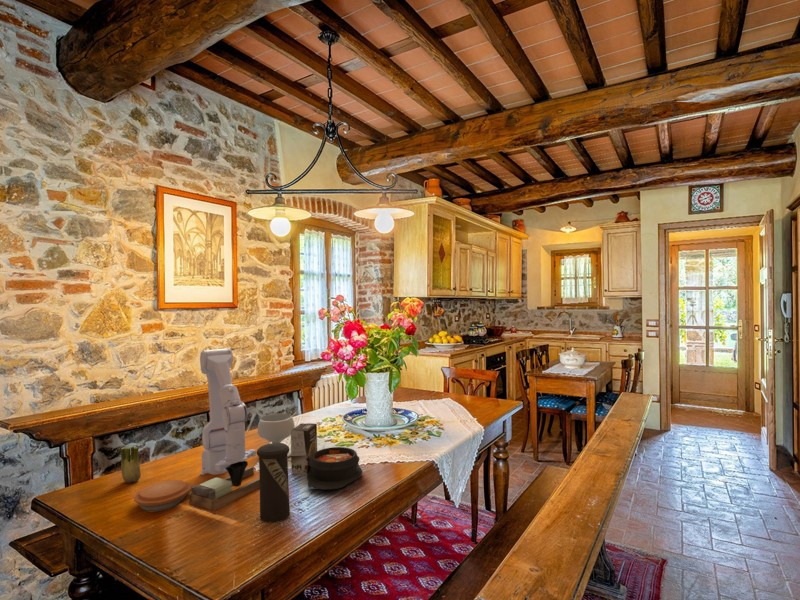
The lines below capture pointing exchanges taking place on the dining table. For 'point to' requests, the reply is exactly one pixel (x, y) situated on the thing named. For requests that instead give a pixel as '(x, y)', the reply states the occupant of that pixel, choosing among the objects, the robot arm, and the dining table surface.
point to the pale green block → (218, 486)
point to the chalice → (276, 427)
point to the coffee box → (303, 447)
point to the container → (274, 482)
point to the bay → (208, 500)
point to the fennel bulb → (130, 464)
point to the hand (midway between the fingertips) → (236, 485)
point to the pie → (162, 495)
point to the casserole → (333, 468)
